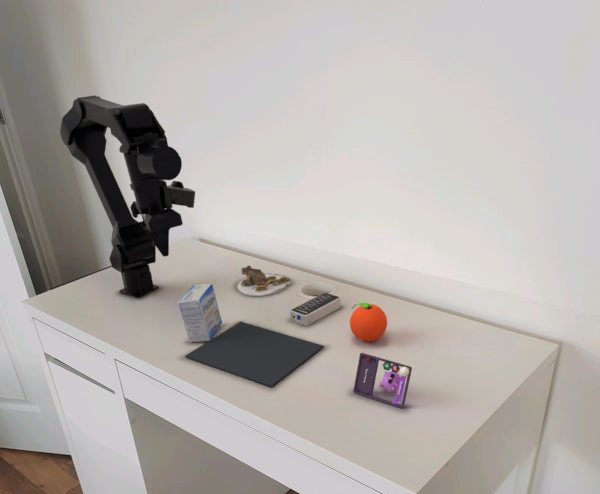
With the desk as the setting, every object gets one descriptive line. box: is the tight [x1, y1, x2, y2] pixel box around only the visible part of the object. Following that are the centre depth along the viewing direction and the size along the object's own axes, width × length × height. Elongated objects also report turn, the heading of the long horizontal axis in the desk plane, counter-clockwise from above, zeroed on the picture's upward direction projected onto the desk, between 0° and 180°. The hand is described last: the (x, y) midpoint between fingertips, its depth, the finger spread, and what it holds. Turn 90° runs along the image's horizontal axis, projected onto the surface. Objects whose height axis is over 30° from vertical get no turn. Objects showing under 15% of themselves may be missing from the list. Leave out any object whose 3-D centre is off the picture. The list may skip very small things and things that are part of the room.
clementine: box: [349, 302, 388, 343], centre depth 114 cm, size 8×7×7 cm
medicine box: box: [177, 283, 223, 343], centre depth 118 cm, size 8×4×9 cm, turn 169°
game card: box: [352, 352, 413, 409], centre depth 99 cm, size 7×5×9 cm
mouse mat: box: [184, 321, 325, 388], centre depth 113 cm, size 20×16×1 cm
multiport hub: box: [289, 292, 341, 327], centre depth 125 cm, size 4×11×2 cm, turn 137°
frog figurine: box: [237, 265, 292, 297], centre depth 139 cm, size 12×12×4 cm
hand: (165, 255), depth 125 cm, fingers closed
